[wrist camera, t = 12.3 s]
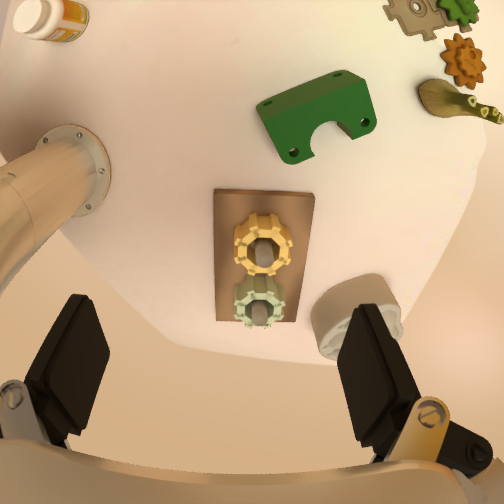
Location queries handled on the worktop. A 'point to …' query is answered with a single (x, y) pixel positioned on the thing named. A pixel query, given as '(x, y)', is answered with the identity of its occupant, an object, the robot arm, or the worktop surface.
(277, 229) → the mustard gear
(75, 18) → the supplement bottle
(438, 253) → the worktop surface
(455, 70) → the gear puzzle
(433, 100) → the fennel bulb
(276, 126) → the clamp
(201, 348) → the worktop surface
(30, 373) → the robot arm
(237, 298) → the sage gear
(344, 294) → the lumpy-topped squat cylinder
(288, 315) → the gear board
